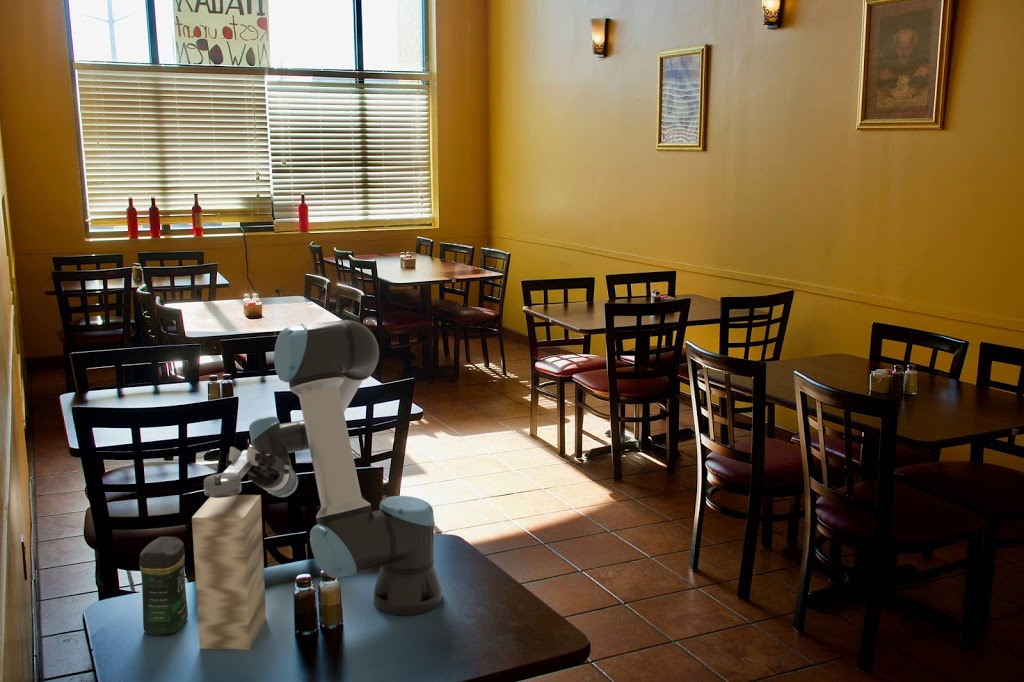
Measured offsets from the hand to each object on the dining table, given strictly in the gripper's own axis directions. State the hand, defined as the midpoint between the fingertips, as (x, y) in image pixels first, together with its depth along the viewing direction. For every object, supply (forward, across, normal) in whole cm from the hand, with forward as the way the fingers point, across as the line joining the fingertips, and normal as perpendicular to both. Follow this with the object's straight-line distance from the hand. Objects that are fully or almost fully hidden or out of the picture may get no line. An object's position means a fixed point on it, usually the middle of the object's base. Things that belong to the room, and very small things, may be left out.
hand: (240, 453), depth 190 cm
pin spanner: (+2, 0, -5) cm, 5 cm away
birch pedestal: (-9, 0, -36) cm, 37 cm away
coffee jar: (-12, +15, -35) cm, 39 cm away
